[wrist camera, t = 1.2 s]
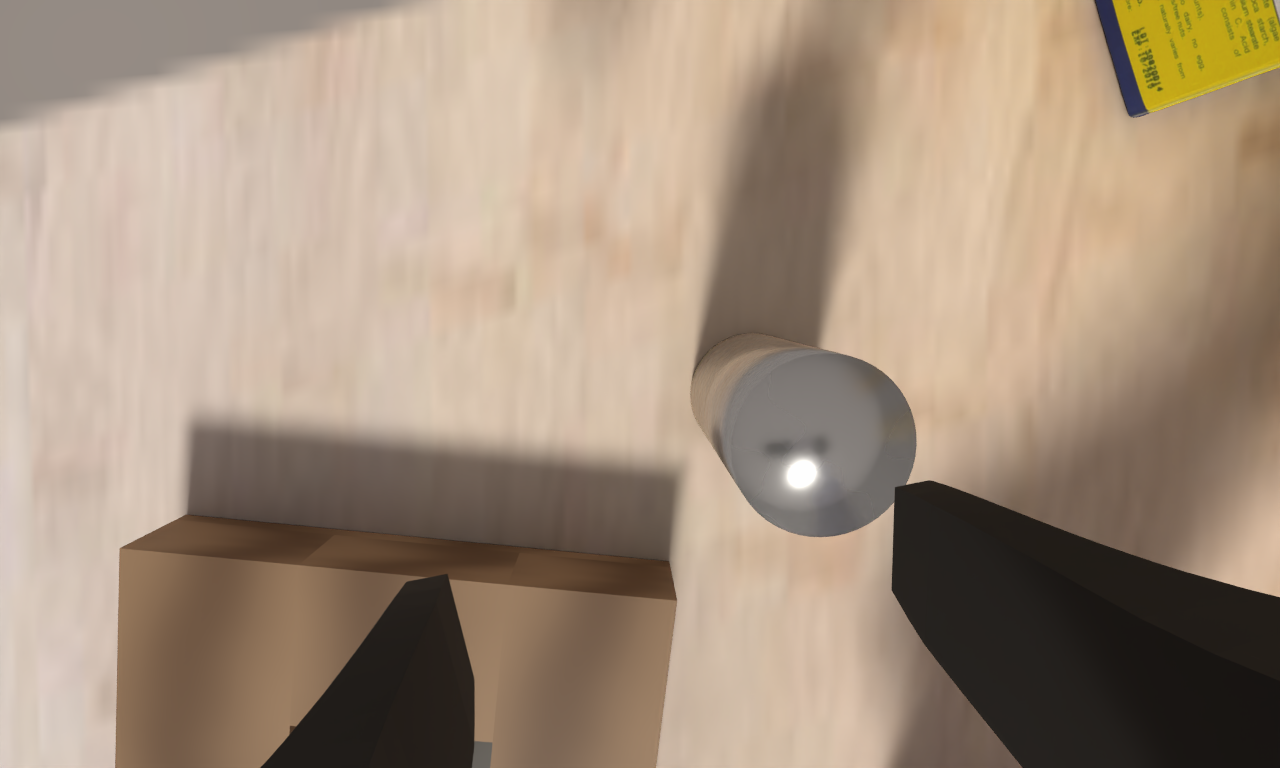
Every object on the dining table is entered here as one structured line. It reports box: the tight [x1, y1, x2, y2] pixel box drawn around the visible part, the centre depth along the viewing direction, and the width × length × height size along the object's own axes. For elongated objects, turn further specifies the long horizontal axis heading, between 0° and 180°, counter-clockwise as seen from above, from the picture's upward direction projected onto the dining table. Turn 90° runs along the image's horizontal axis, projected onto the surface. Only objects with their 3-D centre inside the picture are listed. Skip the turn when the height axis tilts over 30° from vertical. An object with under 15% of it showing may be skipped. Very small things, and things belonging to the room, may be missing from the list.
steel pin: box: [690, 333, 916, 537], centre depth 18 cm, size 4×4×8 cm
